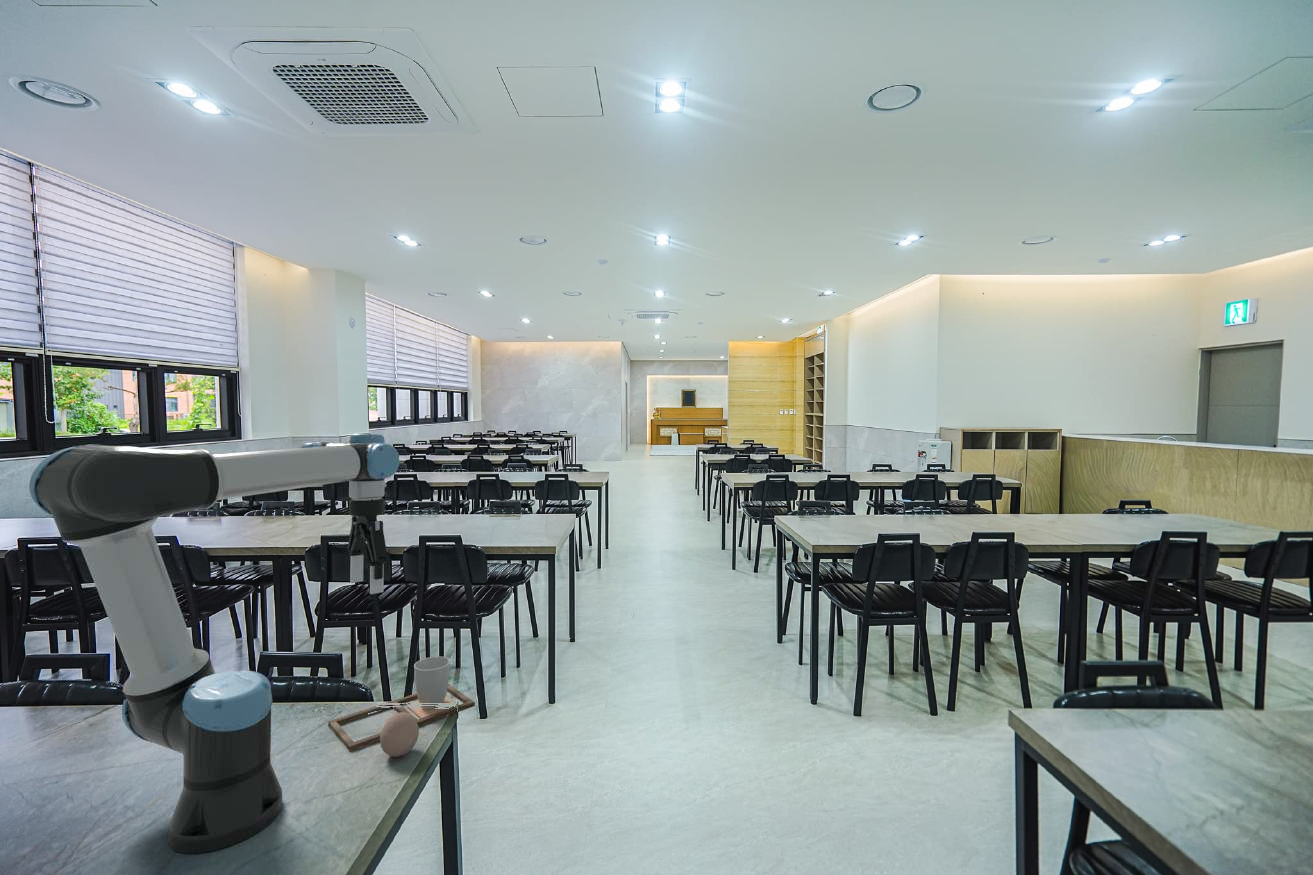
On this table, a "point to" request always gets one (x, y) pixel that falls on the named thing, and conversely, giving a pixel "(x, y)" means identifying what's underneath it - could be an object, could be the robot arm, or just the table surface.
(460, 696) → the brown wooden divided frame
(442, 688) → the cup
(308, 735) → the table surface
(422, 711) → the pad
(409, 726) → the egg
